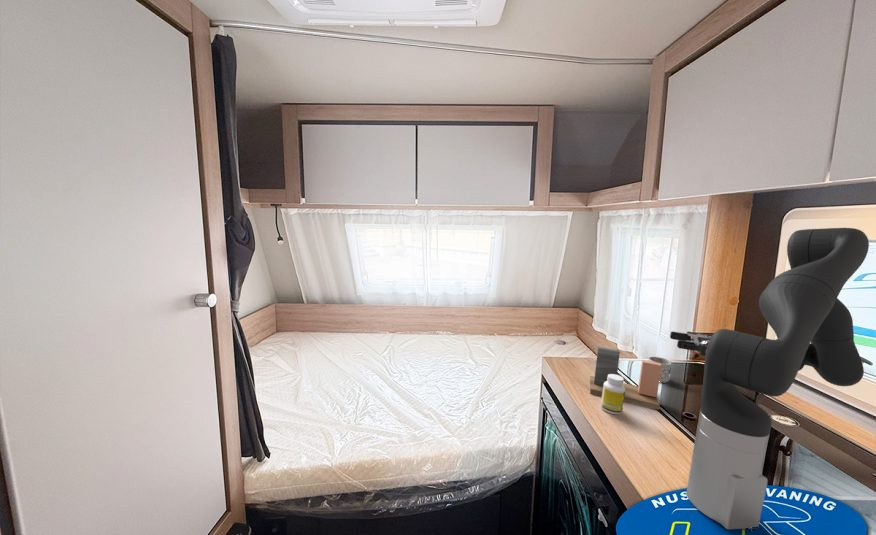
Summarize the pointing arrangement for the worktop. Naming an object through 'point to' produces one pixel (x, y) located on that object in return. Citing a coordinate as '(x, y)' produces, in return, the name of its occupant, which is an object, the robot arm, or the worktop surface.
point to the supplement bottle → (613, 394)
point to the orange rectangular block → (649, 378)
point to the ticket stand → (609, 365)
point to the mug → (663, 368)
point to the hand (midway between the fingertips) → (674, 339)
